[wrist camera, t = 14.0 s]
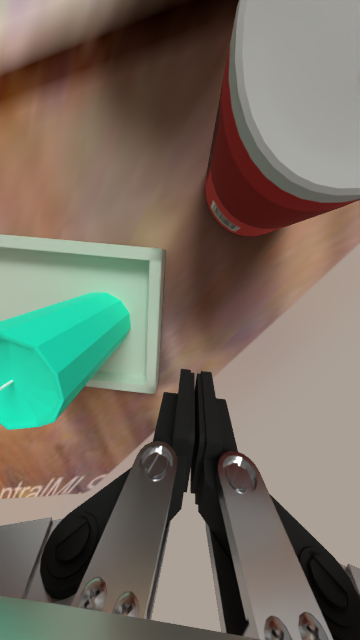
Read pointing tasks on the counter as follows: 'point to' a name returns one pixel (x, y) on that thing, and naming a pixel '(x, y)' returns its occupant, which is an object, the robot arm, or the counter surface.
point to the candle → (55, 355)
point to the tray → (85, 277)
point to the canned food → (287, 115)
